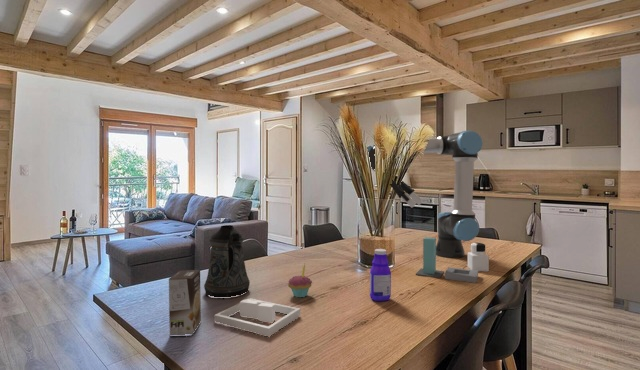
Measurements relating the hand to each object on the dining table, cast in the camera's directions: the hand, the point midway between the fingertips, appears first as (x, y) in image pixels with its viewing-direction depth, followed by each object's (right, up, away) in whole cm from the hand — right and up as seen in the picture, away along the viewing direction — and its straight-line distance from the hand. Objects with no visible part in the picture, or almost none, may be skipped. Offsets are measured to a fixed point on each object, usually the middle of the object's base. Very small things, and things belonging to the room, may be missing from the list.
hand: (417, 204), depth 163 cm
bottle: (-24, -31, -38) cm, 55 cm away
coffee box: (-83, -32, -62) cm, 109 cm away
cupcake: (-52, -31, -34) cm, 70 cm away
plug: (+3, -29, -7) cm, 30 cm away
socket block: (+15, -30, -14) cm, 36 cm away
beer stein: (-79, -31, -30) cm, 90 cm away
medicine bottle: (+27, -30, -1) cm, 40 cm away
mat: (+3, -30, -7) cm, 31 cm away
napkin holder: (-64, -33, -55) cm, 90 cm away
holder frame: (-64, -32, -55) cm, 90 cm away
